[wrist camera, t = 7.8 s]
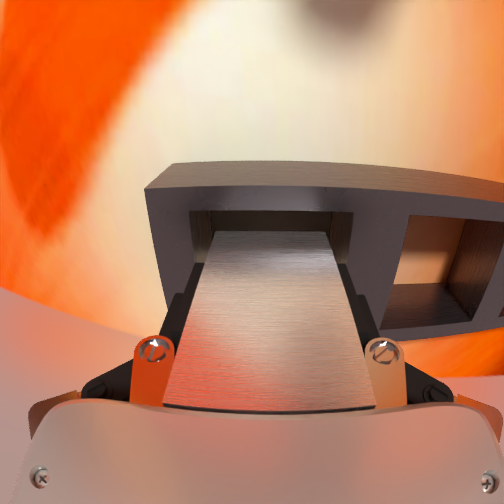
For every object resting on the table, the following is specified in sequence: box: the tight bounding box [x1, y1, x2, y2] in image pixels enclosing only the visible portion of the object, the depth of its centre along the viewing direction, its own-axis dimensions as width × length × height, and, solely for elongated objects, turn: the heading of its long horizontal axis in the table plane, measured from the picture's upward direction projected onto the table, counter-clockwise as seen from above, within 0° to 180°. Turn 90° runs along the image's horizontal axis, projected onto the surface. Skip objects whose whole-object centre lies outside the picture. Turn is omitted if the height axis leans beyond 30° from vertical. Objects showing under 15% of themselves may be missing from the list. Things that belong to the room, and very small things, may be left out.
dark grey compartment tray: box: [144, 161, 504, 341], centre depth 14 cm, size 28×8×4 cm, turn 91°
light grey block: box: [162, 231, 376, 415], centre depth 10 cm, size 4×4×8 cm
